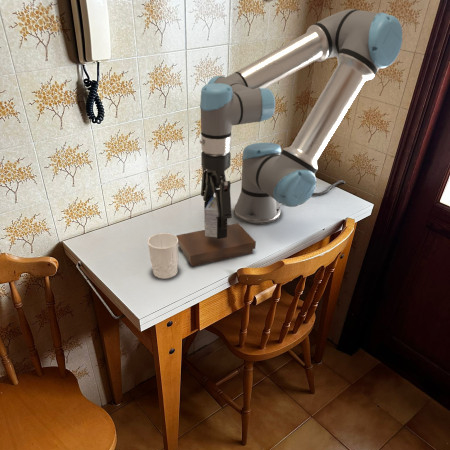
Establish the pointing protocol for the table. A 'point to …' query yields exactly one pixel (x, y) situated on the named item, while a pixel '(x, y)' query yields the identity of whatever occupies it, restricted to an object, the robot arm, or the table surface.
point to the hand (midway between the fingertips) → (215, 229)
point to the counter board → (215, 245)
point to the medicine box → (211, 218)
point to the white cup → (164, 254)
